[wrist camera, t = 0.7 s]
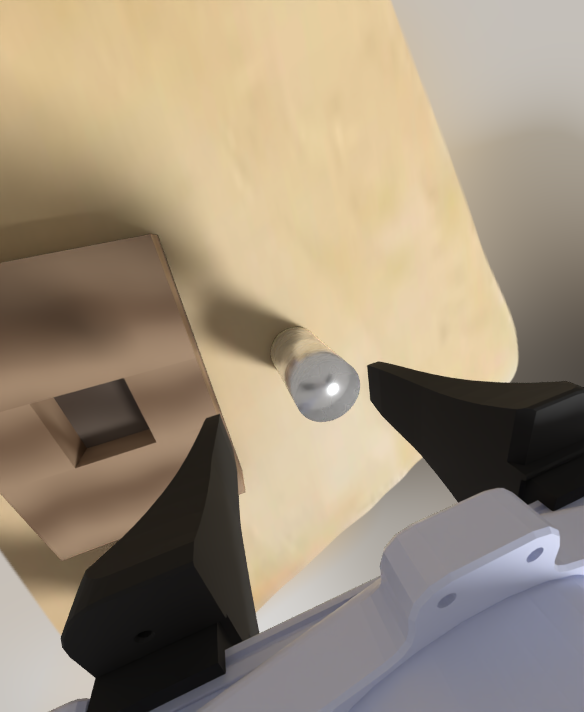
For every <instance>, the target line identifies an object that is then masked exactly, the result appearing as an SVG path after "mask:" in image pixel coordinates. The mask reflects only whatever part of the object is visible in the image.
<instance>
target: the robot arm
mask: <svg viewBox="0 0 584 712" xmlns="http://www.w3.org/2000/svg"><path fill="white" fill-rule="evenodd" d="M367 368H368V379H369V390H370V400H371V402H372V403H373V404H374V406H375V407H376V409H377V410H378V411H379V412H380V414H381V415H382V416H383V417H384V418H385V419H386V420H387V421H388V422H389V423H390V424H391V425H392V426H393V427H394V428H395V429H396V430H397V431H398V432H399V433H400V434H401V435H402V436H403V437H404V438H405V439H406V440H407V441H408V442H409V443H410V444H411V445H412V446H413V447H414V448H415V449H416V450H417V451H418V452H419V453H420V454H421V456H422V457H423V458H424V459H425V460H426V462H427V463H428V464H429V465H430V467H431V468H432V469H433V470H434V471H435V473H436V474H437V475H438V476H439V478H440V479H441V480H442V482H443V483H444V484H445V485H446V487H447V488H448V489H449V491H450V492H451V493H452V495H453V496H454V497H455V499H456V500H457V502H458V503H457V504H454V505H452V506H450V507H448V508H445V509H444V510H441V511H439V512H437V513H434V514H432V515H430V516H428V517H426V518H423V519H421V520H419V521H417V522H415V523H412V524H411V525H409V526H407V527H406V528H404V529H403V530H401V531H400V532H398V533H397V534H395V535H394V537H393V538H392V539H391V540H390V542H389V543H388V544H387V545H386V546H385V548H384V551H383V555H382V559H381V563H380V570H381V576H379V577H376V578H374V579H372V580H370V581H368V582H366V583H364V584H362V585H360V586H358V587H355V588H353V589H351V590H349V591H347V592H345V593H343V594H341V595H339V596H337V597H335V598H333V599H330V600H328V601H326V602H324V603H322V604H320V605H318V606H316V607H314V608H312V609H310V610H308V611H305V612H303V613H301V614H299V615H297V616H295V617H293V618H291V619H289V620H287V621H285V622H282V623H280V624H278V625H276V626H274V627H272V628H270V629H268V630H266V631H264V632H261V633H259V629H258V624H257V619H256V613H255V608H254V602H253V597H252V591H251V586H250V580H249V574H248V568H247V562H246V557H245V550H244V544H243V538H242V532H241V524H240V511H239V494H238V477H237V466H236V461H235V456H234V450H233V447H232V444H231V442H230V439H229V436H228V434H227V431H226V428H225V426H224V423H223V421H222V418H221V415H220V414H217V415H214V416H211V417H208V418H206V419H205V421H204V423H203V425H202V427H201V429H200V432H199V434H198V436H197V438H196V440H195V442H194V444H193V446H192V448H191V450H190V452H189V453H188V455H187V457H186V459H185V460H184V462H183V464H182V465H181V467H180V469H179V470H178V472H177V474H176V475H175V477H174V478H173V479H172V481H171V482H170V484H169V485H168V486H167V488H166V489H165V490H164V492H163V493H162V494H161V495H160V496H159V498H158V499H157V500H156V501H155V502H154V504H153V505H152V506H151V507H150V508H149V510H148V511H147V512H146V513H145V514H144V515H143V516H142V517H141V519H140V520H139V521H138V522H137V523H136V524H135V525H134V526H133V527H132V528H131V529H130V530H129V531H128V532H127V533H126V534H125V535H124V536H123V537H122V538H121V539H120V540H119V541H118V542H117V543H116V544H115V545H114V546H113V547H111V548H110V549H109V550H108V551H107V552H106V553H105V554H104V555H103V556H102V557H100V558H99V559H98V560H97V561H96V562H95V563H94V564H93V565H92V566H90V567H89V568H88V569H87V570H86V572H85V574H84V576H83V579H82V581H81V583H80V586H79V588H78V591H77V594H76V596H75V599H74V602H73V605H72V607H71V610H70V613H69V616H68V619H67V621H66V624H65V627H64V630H63V633H62V635H61V643H62V648H63V649H64V650H65V652H66V653H67V654H68V655H69V657H70V658H71V659H73V660H74V661H76V662H77V663H78V664H79V665H81V667H83V668H84V669H85V670H87V671H88V672H89V673H90V674H91V675H93V676H94V677H95V678H96V679H95V683H94V686H93V690H92V694H91V698H90V699H87V698H85V699H77V700H74V701H71V702H69V703H66V704H64V705H62V706H60V707H58V708H56V709H53V710H51V711H50V712H584V387H581V386H579V385H576V384H573V383H571V382H567V381H561V382H540V383H500V382H484V381H472V380H464V379H457V378H450V377H444V376H439V375H434V374H429V373H425V372H421V371H416V370H412V369H408V368H405V367H401V366H397V365H393V364H389V363H384V362H376V363H373V364H370V365H367Z"/></svg>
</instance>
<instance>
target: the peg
mask: <svg viewBox="0 0 584 712" xmlns="http://www.w3.org/2000/svg"><path fill="white" fill-rule="evenodd" d="M271 359H272V361H273V364H274V365H275V367H276V369H277V371H278V373H279V374H280V376H281V378H282V380H283V382H284V383H285V385H286V387H287V389H288V391H289V392H290V394H291V396H292V398H293V400H294V402H295V403H296V405H297V407H298V409H299V411H300V412H301V413H302V414H303V415H304V416H305V417H306V418H308V419H310V420H312V421H317V422H326V421H331V420H334V419H336V418H338V417H340V416H342V415H343V414H345V413H346V412H347V411H348V410H349V409H350V408H351V407H352V406H353V404H354V403H355V401H356V399H357V397H358V394H359V390H360V380H359V376H358V374H357V372H356V371H355V369H354V368H353V367H352V366H350V365H349V364H348V363H347V362H346V361H345V360H343V359H342V358H341V357H340V356H339V355H338V354H336V353H335V352H334V351H333V350H332V349H330V348H329V347H328V346H327V345H326V344H325V343H323V342H322V341H321V340H320V339H319V338H318V337H316V336H315V335H314V334H313V333H312V332H310V331H309V330H307V329H305V328H302V327H292V328H288V329H286V330H284V331H282V332H281V333H280V334H279V335H278V336H277V337H276V338H275V340H274V341H273V343H272V346H271Z"/></svg>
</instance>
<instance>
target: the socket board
mask: <svg viewBox="0 0 584 712" xmlns="http://www.w3.org/2000/svg"><path fill="white" fill-rule="evenodd" d="M217 414H220V415H221V418H222V421H223V423H224V426H225V428H226V431H227V434H228V436H229V439H230V442H231V444H232V447H233V450H234V456H235V461H236V466H237V477H238V494H239V495H240V494H242V493H245V486H244V479H243V473H242V469H241V466H240V463H239V460H238V457H237V455H236V452H235V449H234V446H233V443H232V441H231V438H230V435H229V432H228V430H227V427H226V424H225V421H224V418H223V416H222V413H221V410H220V407H219V404H218V402H217V399H216V396H215V393H214V391H213V388H212V385H211V382H210V379H209V377H208V374H207V371H206V368H205V365H204V363H203V360H202V357H201V354H200V351H199V349H198V346H197V343H196V340H195V338H194V335H193V332H192V329H191V326H190V324H189V321H188V318H187V315H186V312H185V310H184V307H183V304H182V301H181V298H180V296H179V293H178V290H177V287H176V285H175V282H174V279H173V276H172V273H171V271H170V268H169V265H168V262H167V259H166V257H165V254H164V251H163V248H162V246H161V243H160V240H159V237H158V235H153V234H148V235H143V236H137V237H132V238H127V239H122V240H117V241H111V242H106V243H101V244H96V245H90V246H85V247H80V248H75V249H69V250H64V251H59V252H54V253H48V254H43V255H38V256H33V257H28V258H22V259H17V260H12V261H7V262H1V263H0V494H1V495H2V496H3V497H4V498H5V499H6V501H7V502H8V503H9V504H10V505H11V506H12V507H13V508H14V509H15V510H16V512H17V513H18V514H19V515H20V516H21V517H22V518H23V519H24V520H25V521H26V522H27V524H28V525H29V526H30V527H31V528H32V529H33V530H34V531H35V532H36V533H37V534H38V536H39V537H40V538H41V539H42V540H43V541H44V542H45V543H46V544H47V545H48V546H49V548H50V549H51V550H52V551H53V552H54V553H55V554H56V555H57V556H58V557H59V559H60V560H61V561H63V560H66V559H68V558H71V557H74V556H76V555H79V554H82V553H84V552H87V551H90V550H92V549H95V548H98V547H100V546H103V545H106V544H108V543H111V542H114V541H116V540H119V539H121V538H122V537H123V536H124V535H125V534H126V533H127V532H128V531H129V530H130V529H131V528H132V527H133V526H134V525H135V524H136V523H137V522H138V521H139V520H140V519H141V517H142V516H143V515H144V514H145V513H146V512H147V511H148V510H149V508H150V507H151V506H152V505H153V504H154V502H155V501H156V500H157V499H158V498H159V496H160V495H161V494H162V493H163V492H164V490H165V489H166V488H167V486H168V485H169V484H170V482H171V481H172V479H173V478H174V477H175V475H176V474H177V472H178V470H179V469H180V467H181V465H182V464H183V462H184V460H185V459H186V457H187V455H188V453H189V452H190V450H191V448H192V446H193V444H194V442H195V440H196V438H197V436H198V434H199V432H200V429H201V427H202V425H203V423H204V421H205V419H206V418H208V417H211V416H214V415H217Z"/></svg>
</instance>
